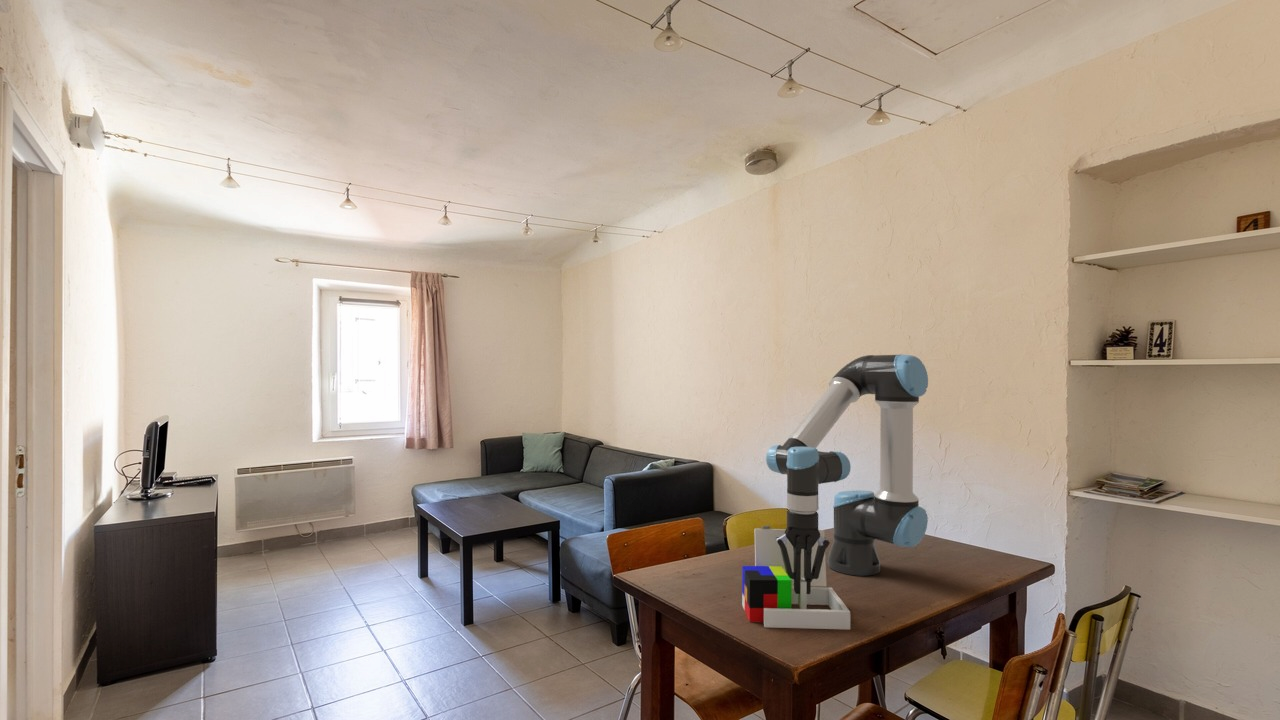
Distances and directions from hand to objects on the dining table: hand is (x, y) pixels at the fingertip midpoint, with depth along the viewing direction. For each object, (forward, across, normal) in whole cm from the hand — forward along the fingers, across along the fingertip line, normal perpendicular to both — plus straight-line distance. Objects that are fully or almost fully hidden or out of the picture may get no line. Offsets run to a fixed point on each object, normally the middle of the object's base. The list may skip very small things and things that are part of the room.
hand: (802, 606), depth 146 cm
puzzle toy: (+2, +9, 0) cm, 9 cm away
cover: (-10, +1, -9) cm, 13 cm away
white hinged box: (+2, +1, 0) cm, 2 cm away
